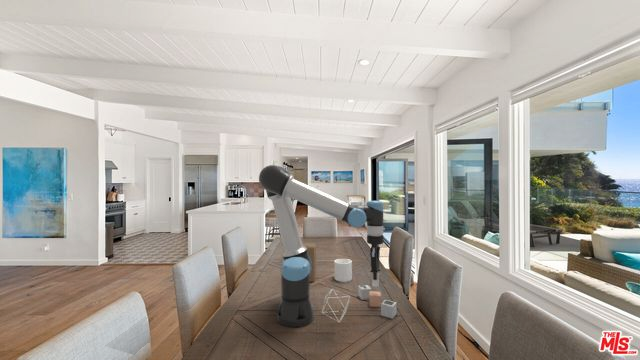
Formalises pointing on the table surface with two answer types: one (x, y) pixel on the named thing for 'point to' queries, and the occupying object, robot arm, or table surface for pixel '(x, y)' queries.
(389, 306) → the marked cube
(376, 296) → the plain cube
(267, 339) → the table surface
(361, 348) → the table surface
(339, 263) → the mug
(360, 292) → the marked cube
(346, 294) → the geometric polyhedron
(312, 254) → the block
